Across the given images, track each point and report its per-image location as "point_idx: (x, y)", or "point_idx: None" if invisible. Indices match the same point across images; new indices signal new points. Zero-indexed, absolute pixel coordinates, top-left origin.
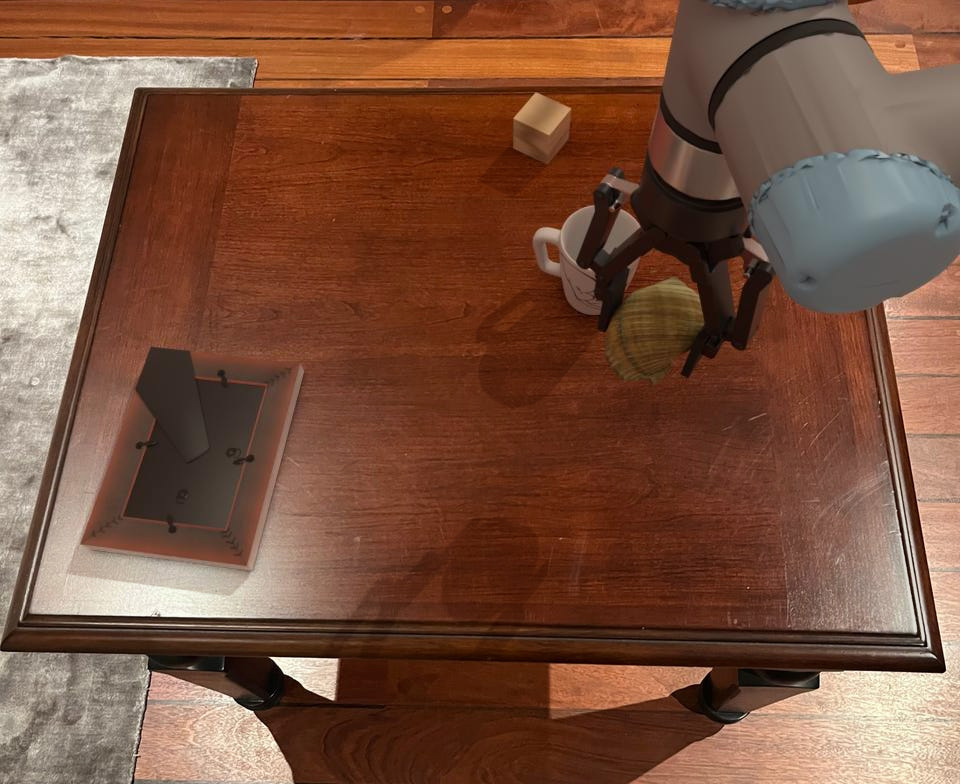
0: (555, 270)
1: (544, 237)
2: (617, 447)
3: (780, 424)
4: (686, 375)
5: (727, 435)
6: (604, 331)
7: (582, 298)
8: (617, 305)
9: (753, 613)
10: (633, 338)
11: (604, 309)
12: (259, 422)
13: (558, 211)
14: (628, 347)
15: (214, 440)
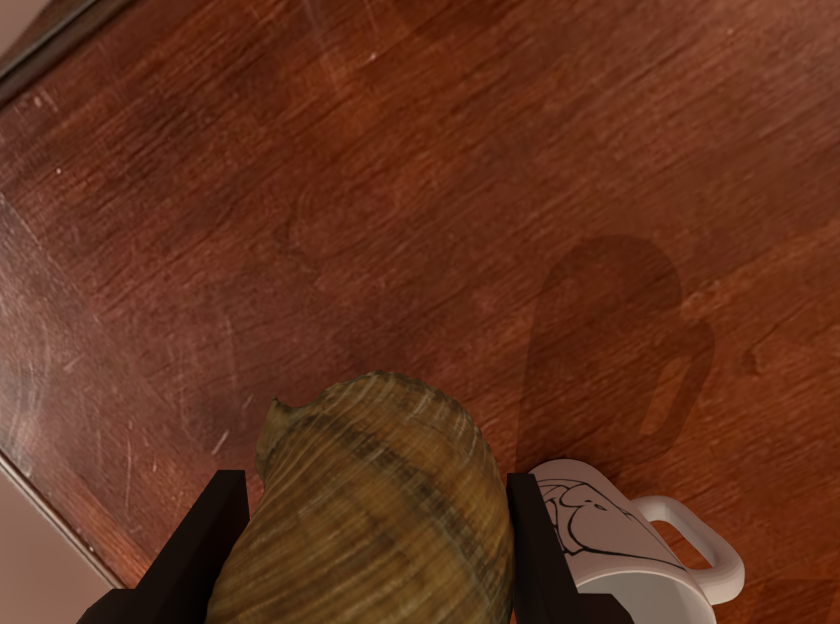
0: (646, 508)
1: (728, 577)
2: (379, 275)
3: (184, 449)
4: (221, 477)
5: (239, 391)
6: (510, 478)
7: (578, 489)
8: (518, 588)
9: (23, 133)
10: (390, 533)
11: (557, 574)
12: None
13: None
14: (393, 485)
15: None
